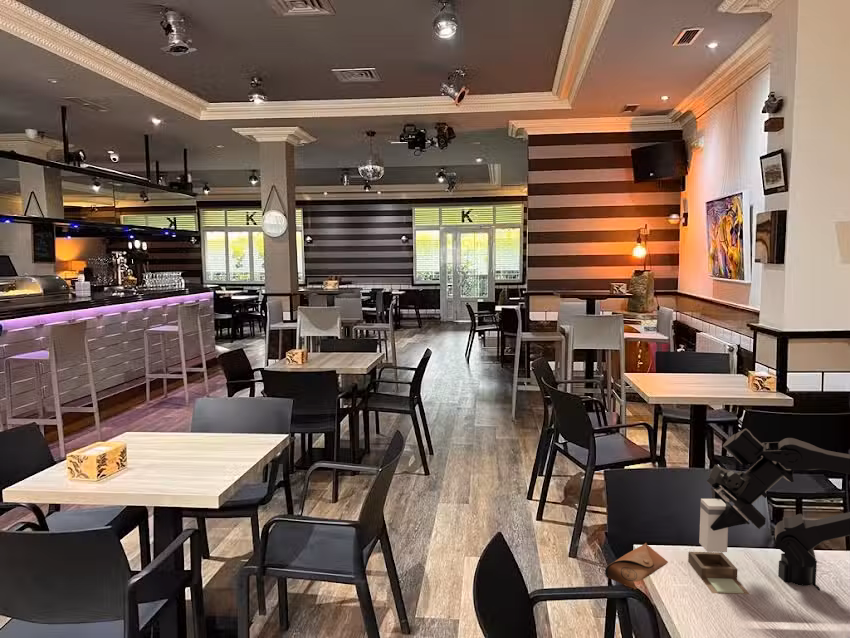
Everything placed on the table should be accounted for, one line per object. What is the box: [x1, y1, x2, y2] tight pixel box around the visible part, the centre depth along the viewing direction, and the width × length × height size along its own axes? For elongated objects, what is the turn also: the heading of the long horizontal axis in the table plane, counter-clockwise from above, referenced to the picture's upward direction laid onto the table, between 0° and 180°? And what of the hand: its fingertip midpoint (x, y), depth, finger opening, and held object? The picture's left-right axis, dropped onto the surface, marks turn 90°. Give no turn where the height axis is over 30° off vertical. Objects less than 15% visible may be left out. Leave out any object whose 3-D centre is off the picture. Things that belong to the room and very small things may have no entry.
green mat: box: [707, 578, 744, 594], centre depth 132 cm, size 6×6×1 cm
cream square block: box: [698, 498, 729, 553], centre depth 138 cm, size 5×5×11 cm
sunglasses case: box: [604, 542, 669, 590], centre depth 142 cm, size 18×7×7 cm
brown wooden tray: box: [687, 551, 750, 595], centre depth 136 cm, size 8×14×4 cm, turn 176°
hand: (707, 524), depth 138 cm, fingers closed on cream square block, 4 cm apart
